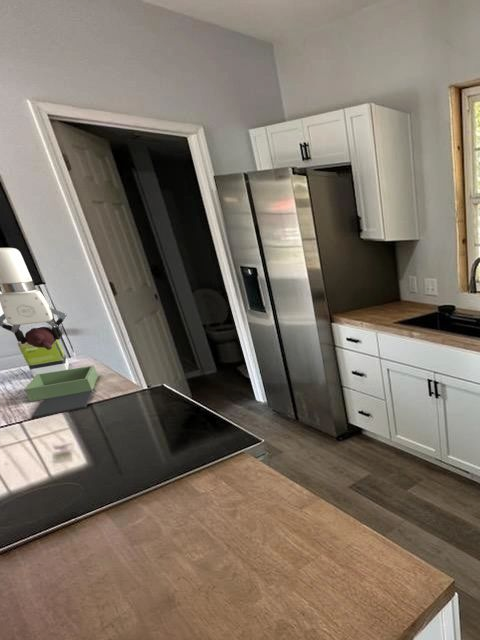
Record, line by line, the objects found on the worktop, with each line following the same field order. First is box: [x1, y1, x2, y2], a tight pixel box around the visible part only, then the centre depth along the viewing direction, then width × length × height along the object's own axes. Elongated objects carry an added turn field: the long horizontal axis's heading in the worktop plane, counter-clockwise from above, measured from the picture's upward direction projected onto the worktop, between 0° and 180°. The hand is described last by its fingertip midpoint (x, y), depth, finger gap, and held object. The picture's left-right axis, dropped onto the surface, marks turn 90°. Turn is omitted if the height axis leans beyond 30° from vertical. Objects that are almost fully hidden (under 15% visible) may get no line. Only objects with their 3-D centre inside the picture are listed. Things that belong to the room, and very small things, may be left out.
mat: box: [31, 390, 93, 419], centre depth 138 cm, size 12×18×1 cm, turn 39°
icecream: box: [24, 326, 56, 350], centre depth 139 cm, size 7×7×15 cm
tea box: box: [17, 335, 70, 378], centre depth 168 cm, size 15×10×15 cm, turn 44°
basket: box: [23, 365, 99, 402], centre depth 152 cm, size 16×20×4 cm
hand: (41, 340), depth 139 cm, fingers closed on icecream, 7 cm apart
